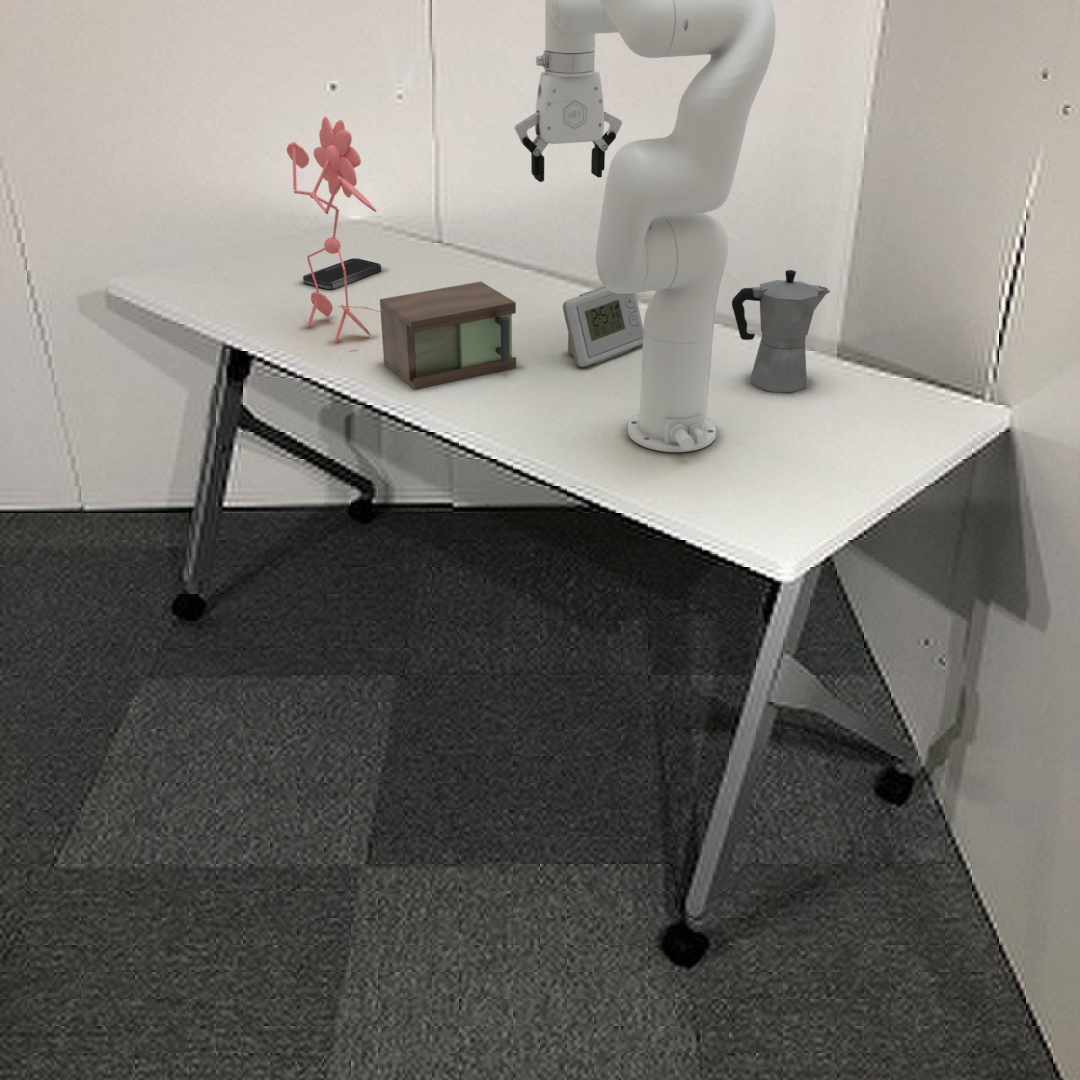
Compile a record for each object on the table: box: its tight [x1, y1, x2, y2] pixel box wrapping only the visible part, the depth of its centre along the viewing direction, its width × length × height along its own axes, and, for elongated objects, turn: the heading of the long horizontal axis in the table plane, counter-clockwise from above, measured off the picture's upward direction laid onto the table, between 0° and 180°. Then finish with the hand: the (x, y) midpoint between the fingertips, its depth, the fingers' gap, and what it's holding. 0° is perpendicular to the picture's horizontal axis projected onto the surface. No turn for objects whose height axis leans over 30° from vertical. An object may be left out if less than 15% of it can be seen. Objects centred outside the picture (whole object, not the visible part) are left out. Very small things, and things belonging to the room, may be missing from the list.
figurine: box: [286, 116, 381, 353], centre depth 200 cm, size 15×26×35 cm, turn 40°
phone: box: [302, 257, 382, 290], centre depth 232 cm, size 8×1×15 cm
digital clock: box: [562, 286, 644, 368], centre depth 196 cm, size 16×9×11 cm, turn 123°
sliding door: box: [459, 314, 513, 368], centre depth 188 cm, size 4×9×8 cm, turn 120°
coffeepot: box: [731, 269, 831, 394], centre depth 184 cm, size 15×9×18 cm, turn 101°
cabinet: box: [379, 281, 517, 390], centre depth 191 cm, size 12×18×11 cm, turn 120°
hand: (567, 177), depth 190 cm, fingers open, 9 cm apart
